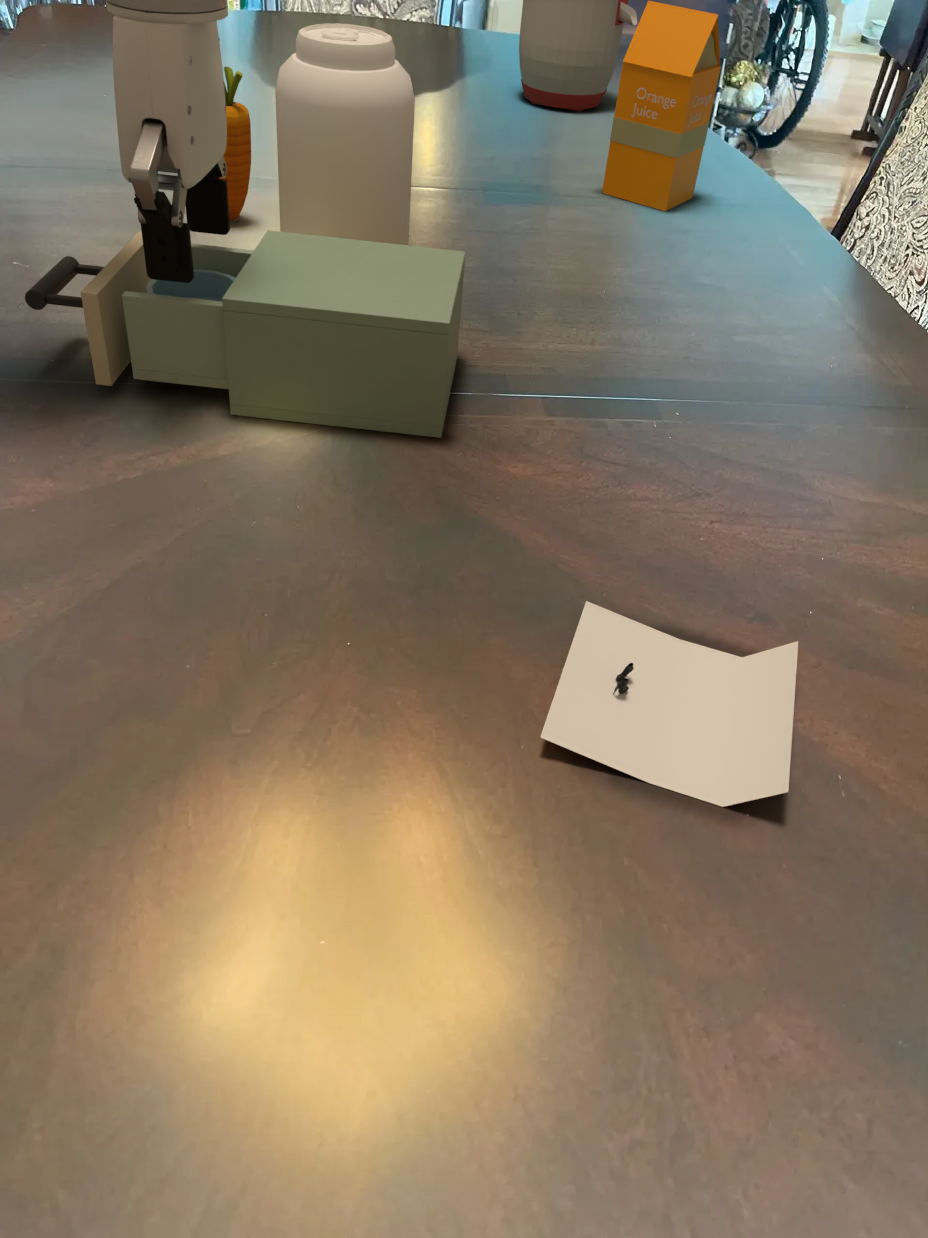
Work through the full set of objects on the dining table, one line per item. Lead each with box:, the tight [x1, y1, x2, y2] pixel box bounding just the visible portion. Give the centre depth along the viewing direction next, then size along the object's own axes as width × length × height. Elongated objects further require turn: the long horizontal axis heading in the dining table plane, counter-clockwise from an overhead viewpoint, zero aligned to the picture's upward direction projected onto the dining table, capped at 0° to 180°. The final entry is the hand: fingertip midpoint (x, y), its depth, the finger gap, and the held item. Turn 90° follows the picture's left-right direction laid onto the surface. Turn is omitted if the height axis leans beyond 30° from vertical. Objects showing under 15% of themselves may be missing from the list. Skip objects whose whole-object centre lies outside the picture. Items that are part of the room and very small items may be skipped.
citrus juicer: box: [518, 0, 638, 112], centre depth 150 cm, size 16×17×20 cm
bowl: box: [146, 269, 235, 302], centre depth 78 cm, size 7×7×4 cm
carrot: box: [219, 66, 252, 223], centre depth 101 cm, size 5×5×15 cm
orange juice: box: [601, 0, 722, 212], centre depth 118 cm, size 8×9×20 cm
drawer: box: [24, 230, 255, 390], centre depth 78 cm, size 20×13×7 cm, turn 85°
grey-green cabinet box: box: [222, 229, 466, 439], centre depth 78 cm, size 16×14×9 cm
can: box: [274, 22, 416, 246], centre depth 94 cm, size 12×12×20 cm
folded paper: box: [540, 600, 799, 808], centre depth 54 cm, size 12×12×2 cm
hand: (191, 254), depth 75 cm, fingers open, 9 cm apart
